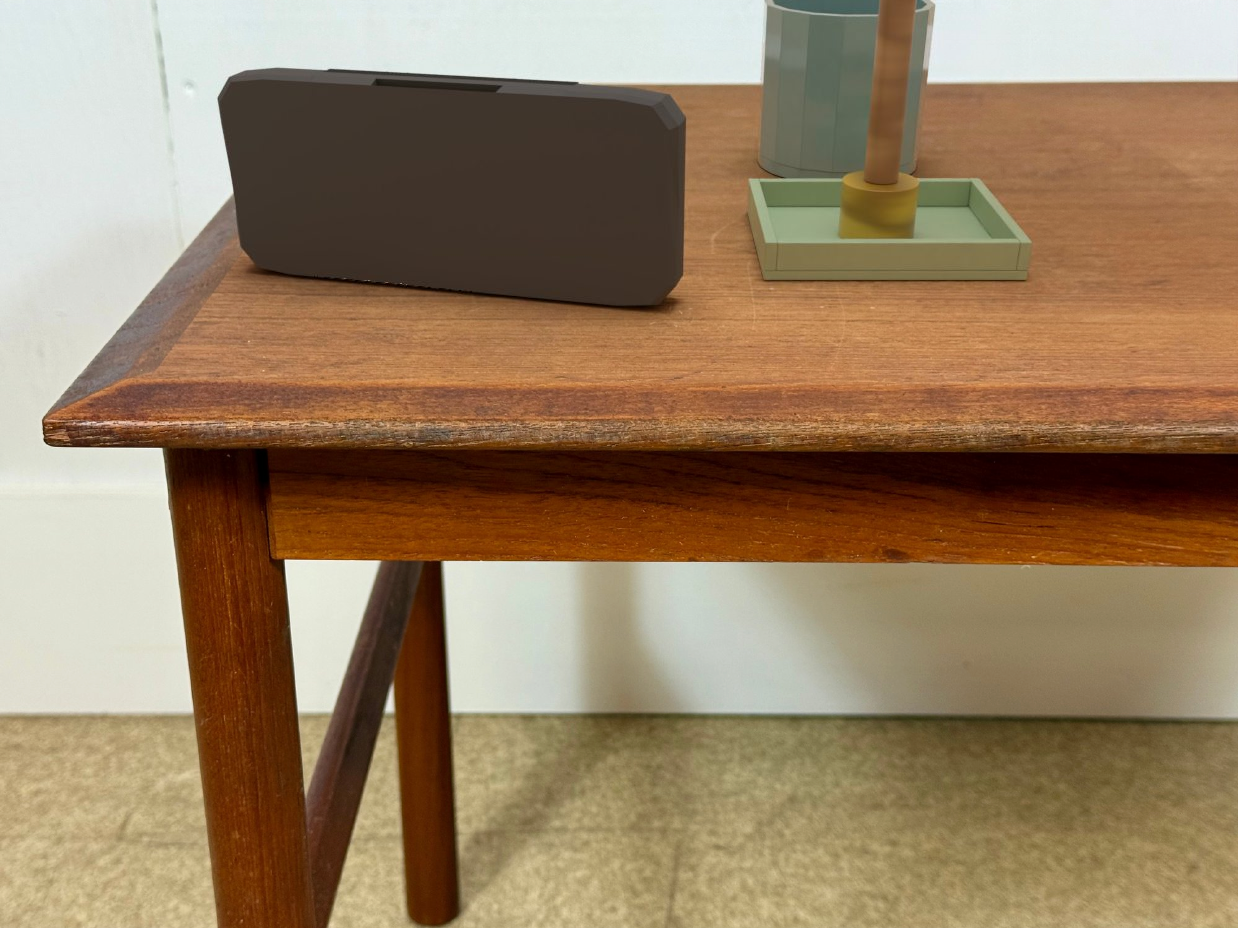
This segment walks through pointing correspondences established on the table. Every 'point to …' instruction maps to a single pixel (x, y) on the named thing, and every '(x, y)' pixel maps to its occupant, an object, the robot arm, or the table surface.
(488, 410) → the table surface
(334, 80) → the chamfered brown slab
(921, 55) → the crock
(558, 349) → the table surface
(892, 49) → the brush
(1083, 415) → the table surface
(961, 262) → the tray
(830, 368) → the table surface
